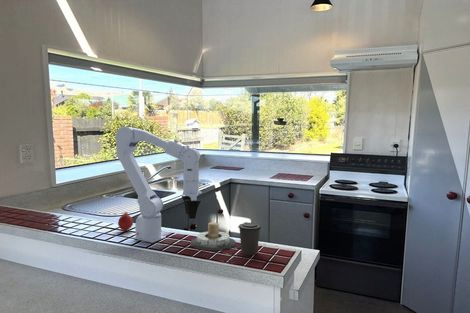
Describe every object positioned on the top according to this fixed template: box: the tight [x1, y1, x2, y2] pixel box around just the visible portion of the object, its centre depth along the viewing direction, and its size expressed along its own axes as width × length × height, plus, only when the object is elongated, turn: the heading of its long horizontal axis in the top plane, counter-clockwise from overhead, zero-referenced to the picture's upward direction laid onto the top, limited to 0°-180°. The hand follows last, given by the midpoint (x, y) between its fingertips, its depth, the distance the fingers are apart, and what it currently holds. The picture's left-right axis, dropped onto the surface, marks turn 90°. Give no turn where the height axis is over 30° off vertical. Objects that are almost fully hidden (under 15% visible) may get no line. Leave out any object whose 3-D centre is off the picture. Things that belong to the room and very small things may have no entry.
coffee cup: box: [237, 221, 262, 256], centre depth 115 cm, size 8×8×10 cm
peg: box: [207, 221, 220, 238], centre depth 124 cm, size 4×4×7 cm
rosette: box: [190, 231, 237, 252], centre depth 124 cm, size 17×17×3 cm
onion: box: [117, 211, 134, 232], centre depth 138 cm, size 6×6×8 cm
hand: (190, 216), depth 126 cm, fingers open, 7 cm apart
